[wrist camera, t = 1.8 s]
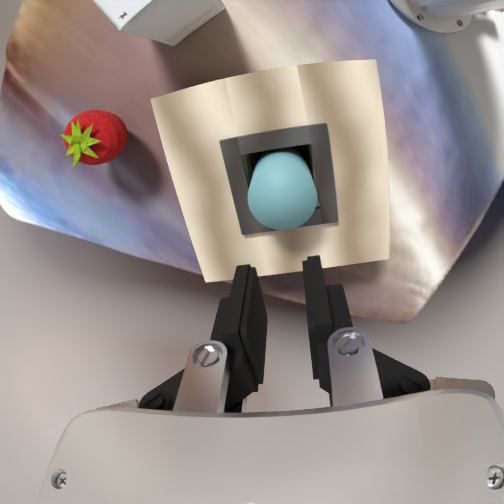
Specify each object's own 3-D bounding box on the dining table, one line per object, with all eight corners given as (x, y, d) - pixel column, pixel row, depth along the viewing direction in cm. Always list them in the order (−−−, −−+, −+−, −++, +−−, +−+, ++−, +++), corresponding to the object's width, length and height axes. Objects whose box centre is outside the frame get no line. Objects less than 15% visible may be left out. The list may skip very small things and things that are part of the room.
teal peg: (304, 142, 26) (312, 160, 20) (311, 193, 28) (320, 225, 22) (249, 151, 27) (241, 171, 21) (260, 200, 29) (255, 234, 23)
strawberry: (142, 156, 33) (99, 183, 25) (90, 147, 33) (41, 171, 24) (148, 108, 30) (104, 120, 22) (95, 102, 30) (42, 115, 21)
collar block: (353, 65, 26) (378, 59, 19) (369, 224, 35) (390, 262, 28) (178, 95, 29) (147, 99, 22) (218, 244, 39) (204, 285, 31)
